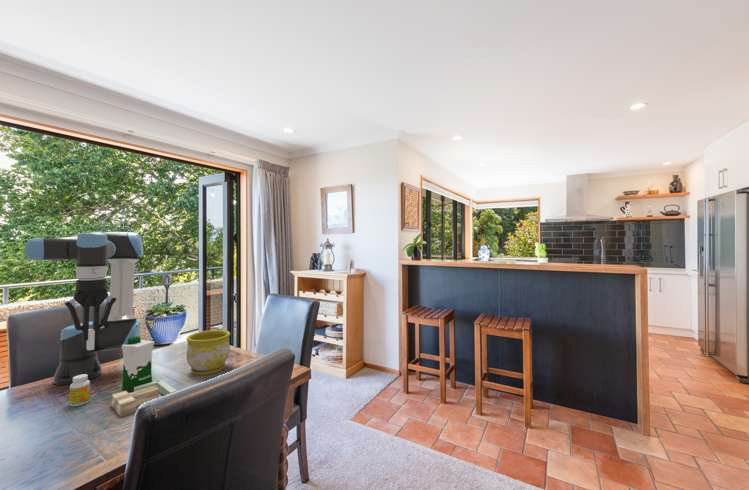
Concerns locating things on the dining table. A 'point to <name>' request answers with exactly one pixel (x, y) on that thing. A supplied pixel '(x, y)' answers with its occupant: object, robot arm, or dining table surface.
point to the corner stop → (160, 384)
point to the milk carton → (137, 363)
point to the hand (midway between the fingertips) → (90, 349)
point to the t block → (132, 400)
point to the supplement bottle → (79, 390)
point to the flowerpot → (208, 351)
